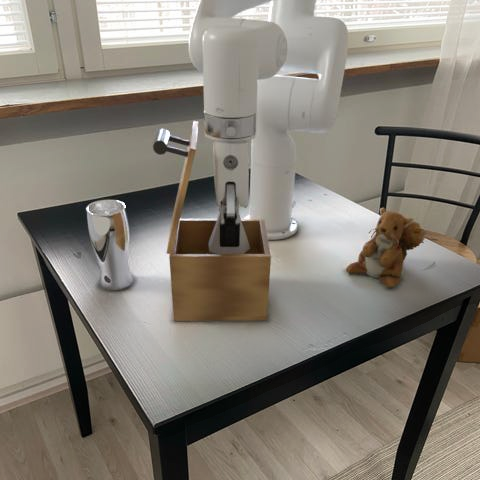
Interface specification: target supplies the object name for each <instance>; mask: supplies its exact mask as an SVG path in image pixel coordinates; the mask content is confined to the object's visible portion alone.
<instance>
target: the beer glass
mask: <svg viewBox="0 0 480 480" xmlns="http://www.w3.org/2000/svg"><path fill="white" fill-rule="evenodd" d="M126 209H127V208H126V205H125V203H124V202H123V201H120V200H117V199H100V200H96V201H93V202H91V203H89V204H88V205H87V206H86V207H85V212H86V223H87V232H88V236H89V240H90V244H91V247H92V250H93V252H94V255H95V257H96V261H97V263H98V268H99V286H100V287H101V288H103V289H105V290H107V291H121V290H125V289H128V288H129V287H130V286H131V285H133V282H134V278H133V274H132V272H131V269H130V263H129V259H130V258H129V257H130V245H131V244H130V239H131V238H130V237H131V233H130V225H129V218H128V214H127V213H128V212H127V210H126Z"/></svg>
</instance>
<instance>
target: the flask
mask: <svg viewBox="0 0 480 480" xmlns="http://www.w3.org/2000/svg"><path fill="white" fill-rule="evenodd" d="M224 204H226V201H224ZM235 204H236V201H235ZM219 208H220V207H219ZM225 213H226V209H225ZM240 215H241V214H239V223H240V245H239V247H221V246H220V223H221V208H220V213H218V216H217V218H216V219H217V221H216V224H215V227H214V230H213V232H212V235H211V237H210V240H209V243H208V245H209V252H213V253H216V254H244V253H245V252H246V251H248V250H249V249H250V246H249V242H248V239H247V236H246V233H245V230H244V227H243V225H242V221H241V219H242V218H241V216H240Z"/></svg>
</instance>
